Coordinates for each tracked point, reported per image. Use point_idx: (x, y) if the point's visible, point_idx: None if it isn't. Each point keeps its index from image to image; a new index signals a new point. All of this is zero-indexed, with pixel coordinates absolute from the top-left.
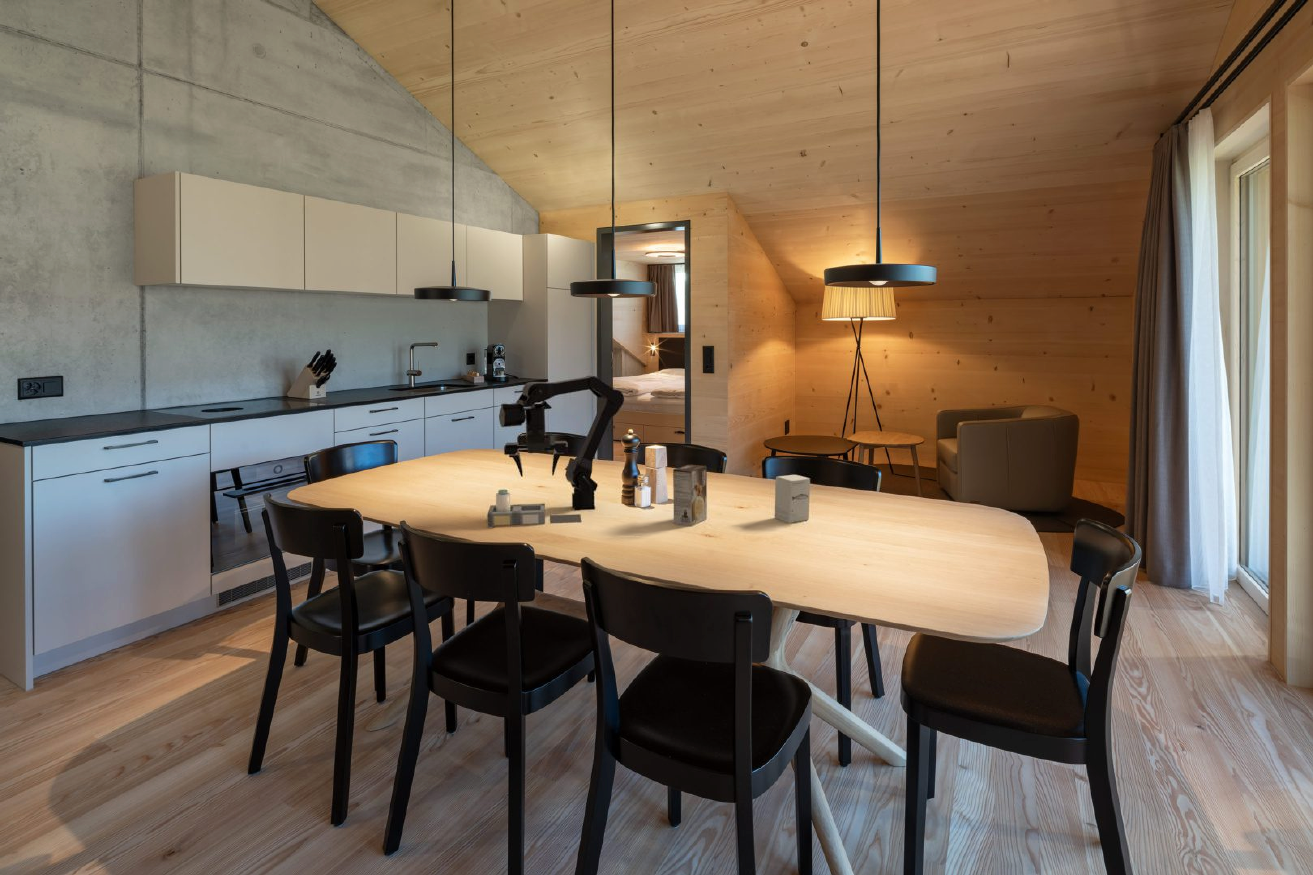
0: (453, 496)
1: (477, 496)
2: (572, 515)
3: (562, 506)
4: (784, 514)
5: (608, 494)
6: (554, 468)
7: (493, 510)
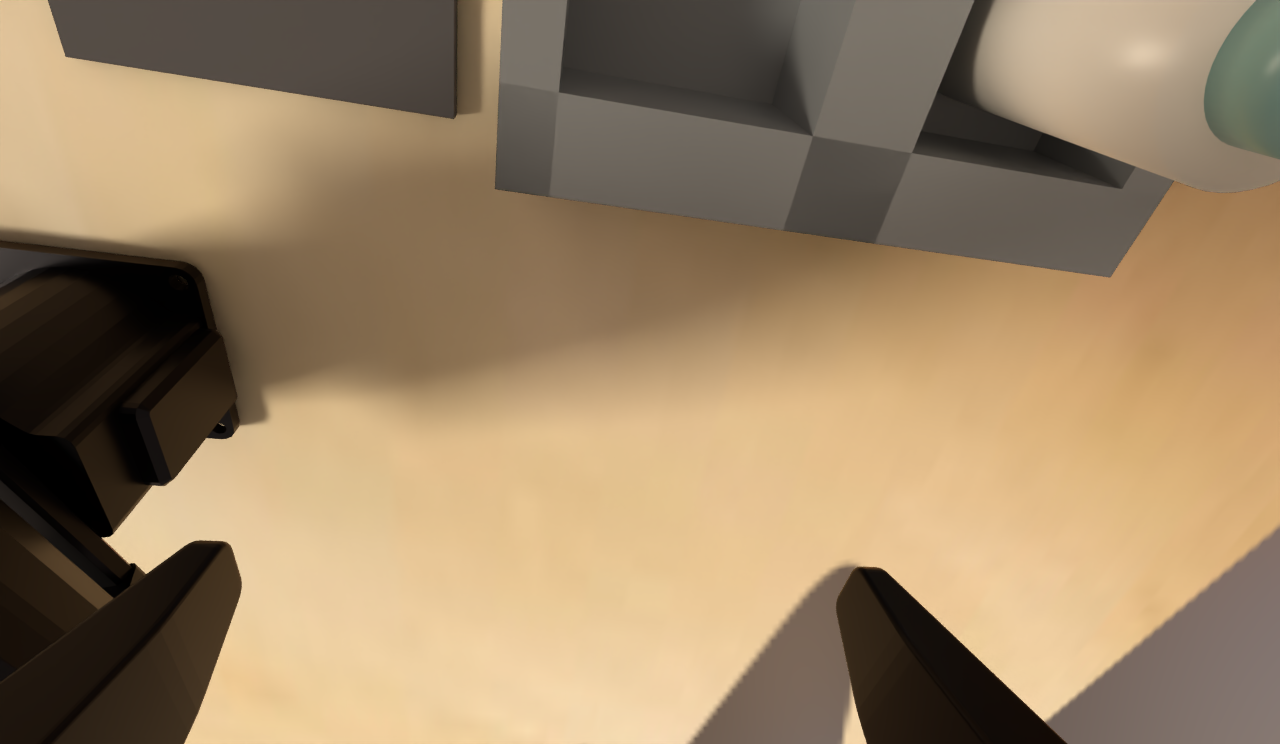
0: None
1: None
2: (166, 24)
3: (350, 446)
4: None
5: None
6: (19, 691)
7: None
